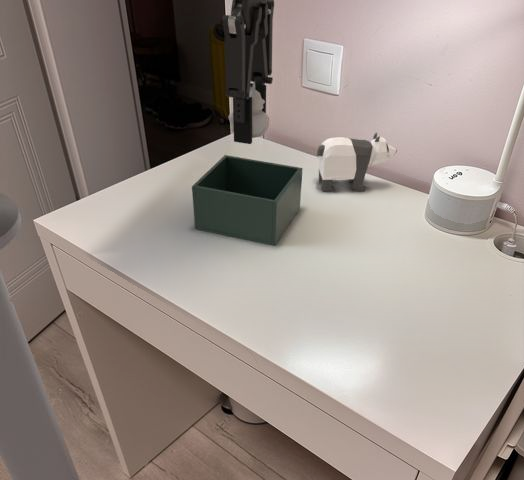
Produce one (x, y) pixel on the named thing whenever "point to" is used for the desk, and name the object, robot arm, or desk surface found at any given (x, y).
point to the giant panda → (350, 160)
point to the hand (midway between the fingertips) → (250, 134)
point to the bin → (247, 199)
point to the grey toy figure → (256, 114)
